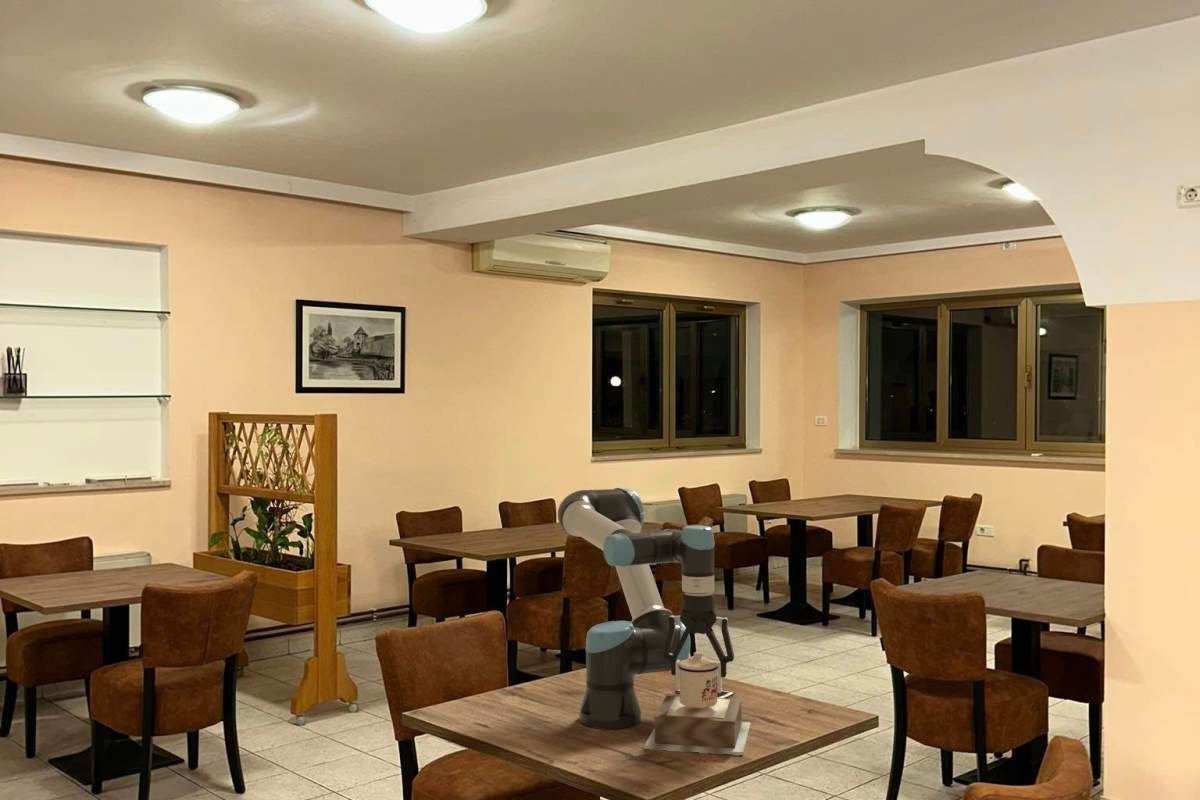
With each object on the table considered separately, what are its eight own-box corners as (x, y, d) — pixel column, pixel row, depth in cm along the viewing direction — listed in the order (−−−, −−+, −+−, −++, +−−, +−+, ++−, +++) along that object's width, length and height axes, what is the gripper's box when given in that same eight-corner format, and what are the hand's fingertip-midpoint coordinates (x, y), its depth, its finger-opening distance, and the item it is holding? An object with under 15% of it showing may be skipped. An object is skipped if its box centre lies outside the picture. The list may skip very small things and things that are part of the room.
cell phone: (689, 687, 288) (689, 684, 288) (736, 696, 279) (736, 692, 279) (673, 693, 282) (673, 690, 282) (721, 702, 273) (721, 699, 273)
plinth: (644, 749, 235) (644, 718, 235) (659, 720, 257) (659, 691, 257) (743, 755, 231) (742, 723, 231) (750, 725, 252) (750, 696, 252)
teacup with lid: (708, 710, 236) (707, 659, 236) (672, 705, 241) (671, 654, 241) (729, 697, 247) (729, 648, 247) (694, 692, 251) (694, 643, 251)
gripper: (649, 594, 242) (650, 691, 242) (743, 597, 238) (744, 697, 238) (654, 588, 250) (655, 683, 250) (746, 591, 245) (747, 688, 245)
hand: (698, 690), depth 244 cm, fingers closed on teacup with lid, 9 cm apart
